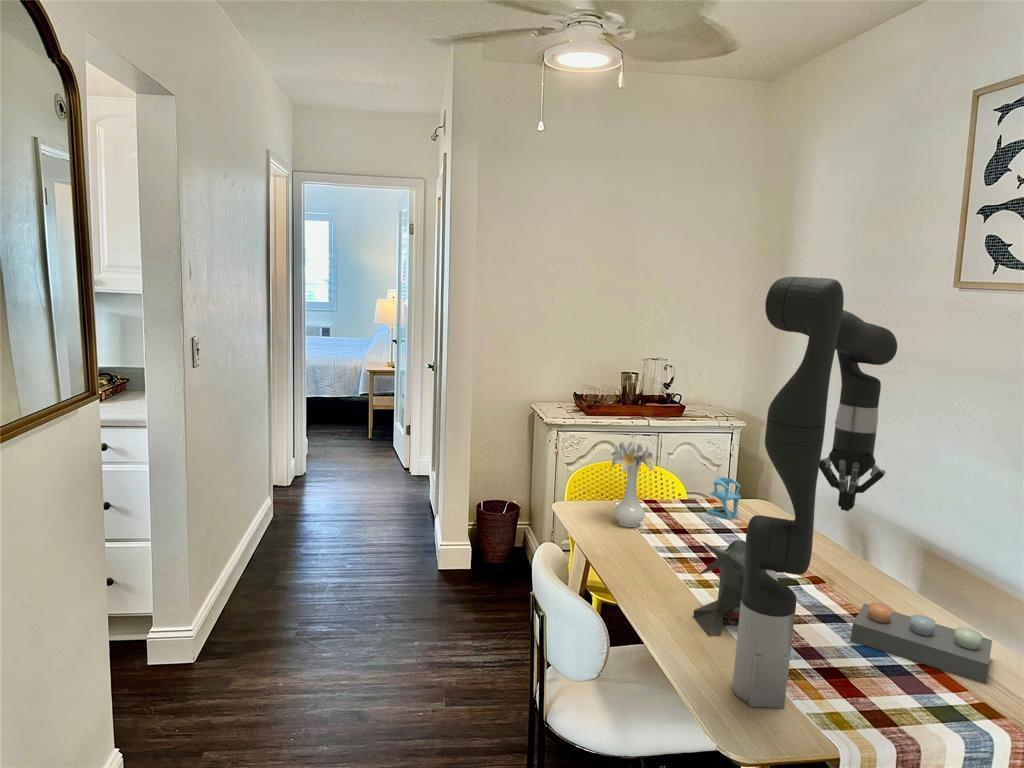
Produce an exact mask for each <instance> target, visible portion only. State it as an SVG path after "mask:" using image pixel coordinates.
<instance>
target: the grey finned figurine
mask: <svg viewBox="0 0 1024 768" xmlns="http://www.w3.org/2000/svg"><path fill="white" fill-rule="evenodd" d="M701 543H702V544H703V545H704V546H706V548H707V549H708V550H709V551H711V552H712V554H714V556H716V559H715V560H714V561H712V562H711V563H710V564H709V565H708V566H706V568H704V569H702V571H701V572H700V573H698V574H697V576H700V575H702V574H705V573H708V572H710V571H713V570H716V569H718V568H719V583H718V584H719V585H718V593H717V600H715V601H712V602H710V603H708V604H705V605H703V606H700V607H697V608H696V609H694V610H693V616H692V617H693V619H694V620H695V621H696V622H697V624H698V625H699V626H700V628H701V629H702V630H703V632H704V633H705V632H706V633H705V634H706V636H708V637H721V636H722V630H723V623H724V618H729V619H735V620H739V614H740V606H741V596H742V588H743V580H744V569H745V546H746V540H745V541H744V540H741V539H740V540H739V539H737V540H733V542H731V543H730V544H729V545H728V547H727V548H726V549H724V550H721V549H719V548H717V547H714V546H713V545H710V544H709V543H707V542H705V541H703V540H701ZM764 571H765V572H766V573H767V571H766V569H764Z"/></svg>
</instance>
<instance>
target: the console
mask: <svg viewBox="0 0 1024 768" xmlns="http://www.w3.org/2000/svg"><path fill="white" fill-rule="evenodd" d="M869 604H870V603H869ZM869 604H868V603H863V604H862V607H861V608H860V610H859V612H858V614H857V615H856V616H855V619H854V620H853V621H852V624H851V625H852V627H851V633H850V641H851V642H854V643H857V644H860V645H862V646H866V647H869V648H873V649H876V650H879V651H882V652H884V653H888V654H892V655H894V656H897V657H901V658H904V659H907V660H910V661H913V662H915V663H916V662H917V663H920V664H923V665H925V666H929V667H932V668H936V669H938V670H941V671H944V672H948V673H950V674H954V675H957V676H960V677H963V678H966V679H969V680H972V681H975V682H978V683H982V684H986V683H987V677H988V670H989V665H990V659H991V651H992V644H993V640H992V639H990V638H986V637H983V636H982V638H981V644H980V648H979V649H976V650H974V649H968V648H964V647H962V646H960V645H958V644H956V643H955V641H954V638H955V632H956V628H951V627H948V626H944V625H940V624H939V623H938V624H937V623H935V629H934V635H932V636H924V635H920V634H917V633H915V632H913V631H912V630H911V629H910V621H911V616H909V615H906V614H903V613H899V612H896V611H893V610H892V615H891V621H890V622H889V623H880V622H876V621H874V620H872V619H870V618H869V617H868V609H869Z"/></svg>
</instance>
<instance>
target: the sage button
mask: <svg viewBox="0 0 1024 768" xmlns="http://www.w3.org/2000/svg"><path fill="white" fill-rule="evenodd" d="M955 629H956V632H955V638H954V641H955V643H956V644H958V645H960V646H962V647H964V648H968V649H974V650H976V649H979V648H980V644H981V638H982V637H983V636H982V635H983V634H981V633H980V632H978V630H975V629H973V628H969V627H965V626H960V627H959V626H958V627H956V628H955Z"/></svg>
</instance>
